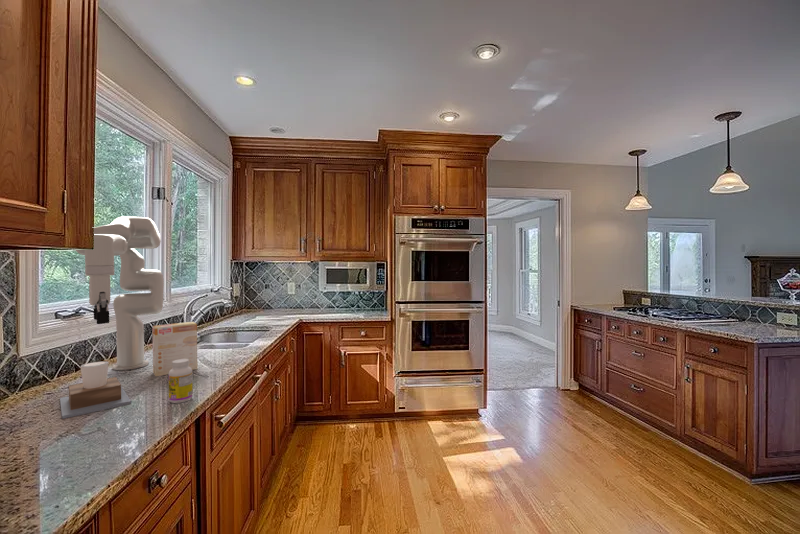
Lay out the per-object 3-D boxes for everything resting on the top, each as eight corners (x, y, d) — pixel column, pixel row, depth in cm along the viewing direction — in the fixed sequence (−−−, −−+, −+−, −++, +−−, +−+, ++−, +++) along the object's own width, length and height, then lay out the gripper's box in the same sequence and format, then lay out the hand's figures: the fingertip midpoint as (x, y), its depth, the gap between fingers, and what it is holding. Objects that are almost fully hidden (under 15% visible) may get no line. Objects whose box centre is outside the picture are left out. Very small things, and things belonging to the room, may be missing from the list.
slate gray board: (60, 400, 117) (59, 397, 117) (121, 388, 128) (121, 386, 128) (61, 418, 103) (61, 416, 103) (131, 403, 114) (131, 401, 114)
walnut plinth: (68, 399, 116) (68, 385, 116) (116, 390, 124) (115, 376, 124) (70, 410, 107) (70, 394, 107) (121, 399, 116) (121, 385, 116)
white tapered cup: (114, 382, 118) (114, 361, 118) (94, 389, 111) (93, 367, 111) (95, 381, 119) (95, 360, 119) (74, 388, 112) (74, 366, 112)
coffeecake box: (193, 365, 156) (193, 321, 156) (198, 369, 151) (197, 323, 151) (152, 373, 146) (151, 325, 146) (155, 377, 141) (154, 327, 141)
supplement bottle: (166, 400, 117) (165, 360, 117) (188, 394, 122) (188, 356, 121) (172, 405, 112) (171, 364, 112) (195, 399, 117) (195, 360, 117)
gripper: (83, 270, 125) (84, 319, 125) (87, 272, 112) (89, 327, 113) (111, 269, 130) (112, 316, 131) (117, 271, 118) (119, 323, 118)
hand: (101, 321), depth 122 cm, fingers open, 9 cm apart
